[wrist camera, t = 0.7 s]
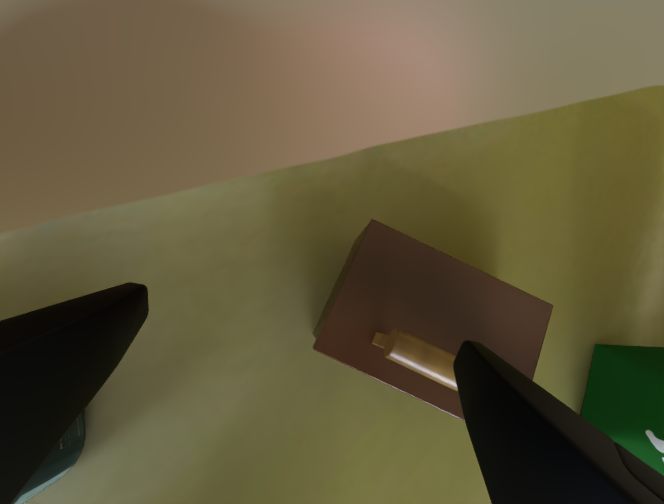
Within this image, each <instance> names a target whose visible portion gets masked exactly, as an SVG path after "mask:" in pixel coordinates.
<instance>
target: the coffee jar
mask: <svg viewBox="0 0 664 504" xmlns="http://www.w3.org/2000/svg"><path fill="white" fill-rule="evenodd" d="M84 442H85V421H84V412H83V411H82V413H81V414H80V415H79V416H78V418H77V419H76V420H75V422H74V423H73V424H72V426H71V427H70V428H69V429H68V431H67V432H66V433H65V435H64V436H63V437H62V438H61V440H60V441H59V442H58V444H57V445H56V446H55V448H54V449H53V450H52V451H51V453H50V454H49V455H48V457H47V458H46V459H45V461H44V462H43V463H42V464H41V466H40V467H39V468H38V470H37V471H36V472H35V473H34V475H33V476H32V477H31V479H30V480H29V481H28V483H27V484H26V485H25V486H24V488H23V489H22V490H21V492H20V493H19V494H18V496H17V497H16V498H15V499H14V501H13V502H12V503H11V504H22V503H24V502H25V501H27V500H29V499H30V498H32V497H33V496H35V495H36V494H38V493H40V492H41V491H43V490H44V489H46V488H47V487H49V486H50V485H52V484H53V483H54V482H56V481H57V480H59V479H60V478H61V477H63V476H64V475H65V474H66V473H67V472H68V471H69V470H70V469H71V468H72V466H73V465H74V464H75V462H76V461H77V459H78V458H79V455H80V453H81V451H82V449H83V446H84Z"/></svg>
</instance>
